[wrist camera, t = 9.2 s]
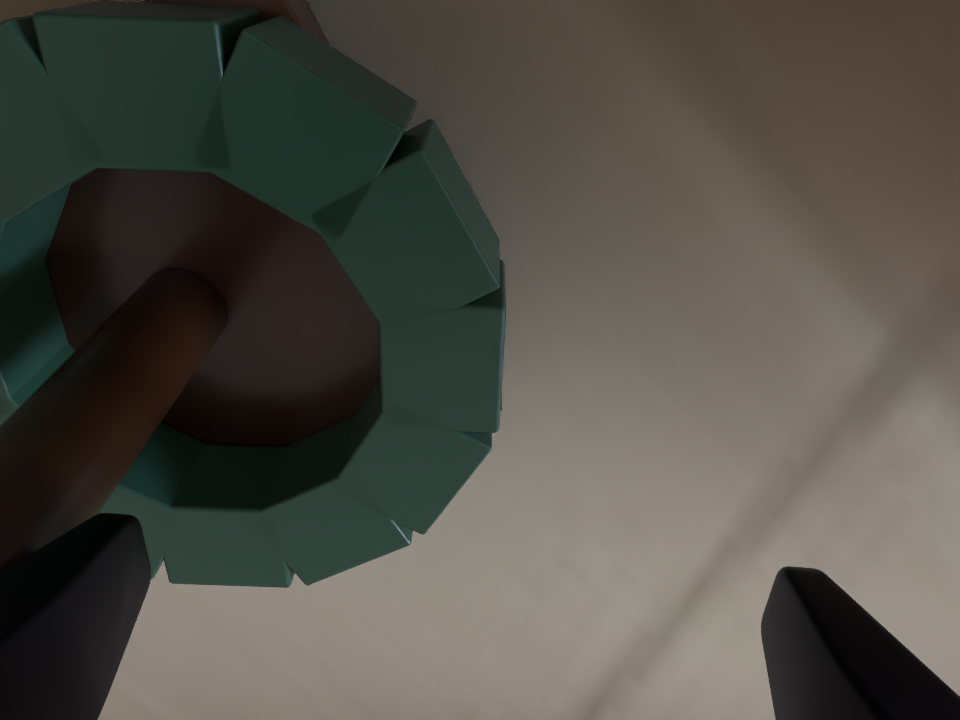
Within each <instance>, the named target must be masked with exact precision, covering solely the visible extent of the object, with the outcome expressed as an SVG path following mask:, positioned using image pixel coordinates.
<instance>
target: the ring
mask: <svg viewBox="0 0 960 720" xmlns="http://www.w3.org/2000/svg"><path fill="white" fill-rule="evenodd" d="M416 105H417V102H416V100H414V99H413V98H411V97H409V96H408V95H406V94H405V93H403V92H402V91H400V90H398V89H397V88H395V87H394V86H392V85H391V84H389V83H387V82H386V81H384V80H383V79H381V78H380V77H378V76H377V75H375V74H373V73H372V72H370V71H369V70H367V69H366V68H364V67H362V66H361V65H359V64H358V63H356V62H355V61H353V60H351V59H350V58H348V57H347V56H345V55H344V54H342V53H340V52H339V51H337V50H336V49H334V48H333V47H331V46H329V45H328V44H326V43H325V42H323V41H322V40H320V39H319V38H317V37H315V36H314V35H312V34H311V33H309V32H308V31H306V30H304V29H303V28H301V27H300V26H298V25H297V24H295V23H293V22H292V21H290V20H289V19H287V18H286V17H284V16H281V15H280V16H277V17H275V18H272V19H269V20H266V21H264V22H261V23H260V22H259V13H258V11H257V9H256V8H254V7H243V6H218V5H193V4H168V3H143V2H118V1H100V2H94V3H87V4H81V5H75V6H69V7H63V8H57V9H51V10H45V11H39V12H36V13H34V14H33V15H31V16H25V17H19V18H13V19H7V20H4V21H2V22H1V23H0V425H1V424H2V423H3V422H4V421H5V420H6V419H7V418H8V417H9V416H10V415H11V414H12V413H14V412H15V411H16V410H17V409H18V408H19V407H20V406H21V405H22V404H23V403H24V402H25V401H26V400H27V399H28V398H29V397H30V396H31V395H32V394H33V393H34V392H35V391H36V390H37V389H38V388H39V387H40V386H41V385H42V384H43V383H44V382H45V381H46V380H47V379H48V378H49V377H50V376H51V375H52V374H53V373H54V372H55V371H56V370H57V369H58V368H59V367H60V366H61V365H62V364H63V363H64V362H65V361H66V360H67V359H68V358H69V357H70V356H71V355H72V354H73V353H74V352H75V350H74V348H73V347H72V346H71V345H70V344H69V343H68V341H67V338H66V334H65V330H64V327H63V323H62V320H61V316H60V312H59V309H58V305H57V302H56V298H55V294H54V291H53V287H52V283H51V280H50V276H49V273H48V269H47V265H46V262H45V258H46V256H47V253H48V250H49V247H50V244H51V241H52V239H53V236H54V233H55V230H56V227H57V224H58V221H59V219H60V216H61V213H62V210H63V207H64V204H65V202H66V199H67V196H68V193H69V190H70V187H71V184H73V183H74V182H76V181H77V180H79V179H81V178H82V177H84V176H86V175H87V174H89V173H90V172H92V171H94V170H95V169H97V168H107V169H133V170H159V171H184V172H210V173H212V174H214V175H216V176H217V177H219V178H221V179H223V180H225V181H226V182H228V183H230V184H232V185H233V186H235V187H237V188H239V189H241V190H242V191H244V192H246V193H248V194H249V195H251V196H253V197H255V198H257V199H258V200H260V201H262V202H264V203H265V204H267V205H269V206H271V207H272V208H274V209H276V210H278V211H280V212H281V213H283V214H285V215H287V216H288V217H290V218H292V219H294V220H296V221H297V222H299V223H301V224H303V225H304V226H306V227H308V228H310V229H312V230H313V231H315V232H317V233H319V235H320V236H321V238H322V239H323V241H324V242H325V244H326V245H327V247H328V248H329V250H330V251H331V253H332V254H333V256H334V257H335V259H336V260H337V262H338V263H339V265H340V266H341V268H342V269H343V271H344V272H345V273H346V275H347V276H348V278H349V279H350V281H351V282H352V284H353V285H354V287H355V288H356V290H357V291H358V293H359V294H360V296H361V297H362V299H363V300H364V302H365V303H366V305H367V306H368V308H369V309H370V311H371V312H372V314H373V315H374V317H375V318H376V320H377V321H378V335H379V362H380V378H379V379H378V381H377V382H376V384H375V385H374V387H373V388H372V390H371V391H370V393H369V394H368V396H367V397H366V399H365V401H364V402H363V404H362V405H361V407H360V408H359V410H358V411H357V413H356V414H355V416H353V417H351V418H349V419H347V420H344V421H342V422H340V423H338V424H336V425H333V426H331V427H329V428H327V429H325V430H322V431H320V432H318V433H316V434H314V435H311V436H309V437H307V438H305V439H303V440H300V441H298V442H296V443H294V444H292V445H289V446H287V447H265V446H238V445H211V444H205V443H203V442H200V441H198V440H196V439H194V438H192V437H190V436H187V435H185V434H183V433H181V432H179V431H177V430H175V429H172V428H170V427H168V426H166V425H164V424H162V423H160V424H159V426H158V427H157V429H156V430H155V432H154V433H153V434H152V436H151V437H150V439H149V440H148V442H147V443H146V445H145V446H144V448H143V449H142V451H141V452H140V454H139V455H138V456H137V458H136V459H135V461H134V462H133V464H132V465H131V467H130V468H129V470H128V471H127V473H126V474H125V476H124V477H123V479H122V480H121V481H120V483H119V484H118V486H117V487H116V489H115V490H114V492H113V493H112V495H111V496H110V498H109V499H108V501H107V502H106V503H105V505H104V506H103V508H102V509H101V511H100V512H99V514H100V513H115V514H128V515H132V516H135V517H136V518H137V519H138V520H139V521H140V524H141V527H142V531H143V535H144V540H145V544H146V548H147V552H148V556H149V560H150V564H151V579H152V578H154V576H155V574H156V573H157V571H158V569H159V567H160V566H161V564H162V562H163V560H164V562H165V566H166V570H167V574H168V578H169V582H170V583H173V584H199V585H227V586H256V587H284V588H287V587H289V586H290V585H291V583H292V580H293V576H294V573H296V574H297V576H298V577H299V578H300V579H301V580H302V581H303V582H304V583H305V584H306V585H310V584H312V583H315V582H317V581H320V580H323V579H325V578H328V577H330V576H333V575H335V574H338V573H340V572H343V571H345V570H348V569H350V568H353V567H355V566H358V565H361V564H363V563H366V562H368V561H371V560H373V559H376V558H378V557H381V556H383V555H386V554H388V553H391V552H393V551H396V550H398V549H401V548H404V547H406V546H409V545H410V544H411V539H412V531H413V530H414V531H416V532H418V533H420V534H425V533H426V532H427V530H428V529H429V528H430V527H431V525H432V524H433V523H434V521H435V520H436V519H437V518H438V516H439V515H440V514H441V513H442V511H443V510H444V509H445V508H446V506H447V505H448V504H449V502H450V501H451V500H452V499H453V497H454V496H455V495H456V494H457V492H458V491H459V490H460V489H461V487H462V486H463V485H464V483H465V482H466V481H467V480H468V478H469V477H470V476H471V475H472V473H473V472H474V471H475V470H476V468H477V467H478V466H479V464H480V463H481V462H482V461H483V459H484V458H485V457H486V456H487V454H488V453H489V452H490V451H491V448H492V433H495V432H497V431H498V429H499V422H500V405H501V388H502V371H503V354H504V337H505V320H506V294H505V269H504V262H503V261H502V260H500V255H499V239H498V237H497V235H496V233H495V232H494V230H493V228H492V226H491V224H490V222H489V221H488V219H487V217H486V215H485V213H484V211H483V210H482V208H481V206H480V204H479V202H478V200H477V199H476V197H475V195H474V193H473V191H472V189H471V188H470V186H469V184H468V182H467V180H466V178H465V177H464V175H463V173H462V171H461V169H460V167H459V166H458V164H457V162H456V160H455V158H454V156H453V155H452V153H451V151H450V149H449V147H448V145H447V144H446V142H445V140H444V138H443V136H442V134H441V133H440V131H439V129H438V127H437V125H436V123H435V122H434V121H433V120H432V119H430V120H427V121H425V122H423V123H422V124H420V125H418V126H416V127H414V128H413V129H411V130H409V131H407V132H405V130H406V127H407V125H408V123H409V121H410V118H411V116H412V114H413V112H414V109H415V107H416ZM404 132H405V133H404Z"/></svg>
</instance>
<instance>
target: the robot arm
mask: <svg viewBox="0 0 960 720" xmlns="http://www.w3.org/2000/svg"><path fill="white" fill-rule="evenodd" d="M150 580H151V564H150V560H149V556H148V552H147V548H146V544H145V540H144V535H143V531H142V527H141V524H140V521H139V520H138V519H137V518H136V517H135V516H132V515H128V514H115V513H100V514H97V515H95V516H93V517H91V518H89V519H87V520H86V521H84V522H83V523H81V524H79V525H78V526H76V527H74V528H73V529H71V530H69V531H68V532H66V533H64V534H63V535H61V536H59V537H58V538H56V539H54V540H53V541H51V542H50V543H48V544H46V545H45V546H43V547H41V548H40V549H38V550H36V551H35V552H33V553H31V554H30V555H28V556H26V557H25V558H23V559H21V560H20V561H18V562H17V563H15V564H13V565H12V566H10V567H8V568H7V569H5V570H3V571H2V572H0V720H97V719H98V717H99V715H100V713H101V710H102V708H103V706H104V703H105V701H106V698H107V696H108V693H109V691H110V688H111V686H112V683H113V680H114V678H115V675H116V672H117V670H118V667H119V664H120V662H121V659H122V657H123V654H124V651H125V649H126V646H127V643H128V641H129V638H130V635H131V633H132V630H133V628H134V625H135V622H136V620H137V617H138V614H139V612H140V609H141V607H142V604H143V601H144V599H145V596H146V593H147V591H148V588H149V584H150ZM761 636H762V643H763V648H764V654H765V660H766V666H767V672H768V677H769V683H770V689H771V695H772V701H773V706H774V712H775V718H776V720H960V696H958V695H957V694H956V693H955V692H954V691H953V690H952V689H951V688H950V687H949V686H948V685H946V684H945V683H944V682H943V681H942V680H941V679H940V678H939V677H938V676H937V675H935V674H934V673H933V672H932V671H931V670H930V669H929V668H928V667H927V666H926V665H925V664H923V663H922V662H921V661H920V660H919V659H918V658H917V657H916V656H915V655H914V654H913V653H911V652H910V651H909V650H908V649H907V648H906V647H905V646H904V645H903V644H902V643H901V642H899V641H898V640H897V639H896V638H895V637H894V636H893V635H892V634H891V633H890V632H888V631H887V630H886V629H885V628H884V627H883V626H882V625H881V624H880V623H879V622H878V621H876V620H875V619H874V618H873V617H872V616H871V615H870V614H869V613H868V612H867V611H866V610H864V609H863V608H862V607H861V606H860V605H859V604H858V603H857V602H856V601H855V600H854V599H852V598H851V597H850V596H849V595H848V594H847V593H846V592H845V591H844V590H843V589H842V588H840V587H839V586H838V585H837V584H836V583H835V582H834V581H833V580H832V579H831V578H829V577H828V576H827V575H826V574H825V573H823V572H822V571H820V570H818V569H814V568H802V567H789V566H788V567H783V568H782V569H780V570H779V572H778V573H777V575H776V578H775V581H774V584H773V587H772V590H771V593H770V596H769V598H768V601H767V604H766V607H765V610H764V613H763V617H762V623H761Z"/></svg>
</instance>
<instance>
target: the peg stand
mask: <svg viewBox="0 0 960 720" xmlns="http://www.w3.org/2000/svg"><path fill="white" fill-rule="evenodd" d="M143 3H168V4H193V5H218V6H243V7H254V8H256V9H257V11H258V13H259V22H260V23H261V22H264V21H266V20H269V19H272V18H275V17H277V16H280V15H281V16H284V17H286V18H287V19H289V20H290V21H292V22H293V23H295V24H297V25H298V26H300V27H301V28H303V29H304V30H306V31H308V32H309V33H311V34H312V35H314V36H315V37H317V38H319V39H320V40H322V41H323V42H325V43H326V44H328V45H329V43H328V41H327V39H326V37H325V35H324V33H323V31H322V29H321V27H320V25H319V24H318V22H317V20H316V18H315V16H314V14H313V12H312V10H311V8H310V6H309V4H308V2H307V0H146V1H144V2H143ZM329 46H330V45H329ZM45 262H46V265H47V269H48V273H49V276H50V280H51V283H52V287H53V291H54V294H55V298H56V302H57V305H58V309H59V312H60V316H61V320H62V323H63V327H64V330H65V334H66V338H67V341H68V343H69V344H70V345H71V346H72V347H73V348H74V350H75V352H74V353H73V354H72V355H71V356H70V357H69V358H68V359H67V360H66V361H65V362H64V363H63V364H62V365H61V366H60V367H59V368H58V369H57V370H56V371H55V372H54V373H53V374H52V375H51V376H50V377H49V378H48V379H47V380H46V381H45V382H44V383H43V384H42V385H41V386H40V387H39V388H38V389H37V390H36V391H35V392H34V393H33V394H32V395H31V396H30V397H29V398H28V399H27V400H26V401H25V402H24V403H23V404H22V405H21V406H20V407H19V408H18V409H17V410H16V411H15V412H14V413H12V414H11V415H10V416H9V417H8V418H7V419H6V420H5V421H4V422H3V423H2V424H1V425H0V572H2V571H3V570H5V569H7V568H8V567H10V566H12V565H13V564H15V563H17V562H18V561H20V560H21V559H23V558H25V557H26V556H28V555H30V554H31V553H33V552H35V551H36V550H38V549H40V548H41V547H43V546H45V545H46V544H48V543H50V542H51V541H53V540H54V539H56V538H58V537H59V536H61V535H63V534H64V533H66V532H68V531H69V530H71V529H73V528H74V527H76V526H78V525H79V524H81V523H83V522H84V521H86V520H87V519H89V518H91V517H93V516H95V515H97V514H99V512H100V511H101V509H102V508H103V506H104V505H105V503H106V502H107V501H108V499H109V498H110V496H111V495H112V493H113V492H114V490H115V489H116V487H117V486H118V484H119V483H120V481H121V480H122V479H123V477H124V476H125V474H126V473H127V471H128V470H129V468H130V467H131V465H132V464H133V462H134V461H135V459H136V458H137V456H138V455H139V454H140V452H141V451H142V449H143V448H144V446H145V445H146V443H147V442H148V440H149V439H150V437H151V436H152V434H153V433H154V432H155V430H156V429H157V427H158V426H159V424H160V423H162V424H164V425H166V426H168V427H170V428H172V429H175V430H177V431H179V432H181V433H183V434H185V435H187V436H190V437H192V438H194V439H196V440H198V441H200V442H203V443H205V444H211V445H238V446H265V447H287V446H289V445H292V444H294V443H296V442H298V441H300V440H303V439H305V438H307V437H309V436H311V435H314V434H316V433H318V432H320V431H322V430H325V429H327V428H329V427H331V426H333V425H336V424H338V423H340V422H342V421H344V420H347V419H349V418H351V417H353V416H355V414H356V413H357V411H358V410H359V408H360V407H361V405H362V404H363V402H364V401H365V399H366V397H367V396H368V394H369V393H370V391H371V390H372V388H373V387H374V385H375V384H376V382H377V381H378V379H379V378H380V362H379V335H378V321H377V320H376V318H375V317H374V315H373V314H372V312H371V311H370V309H369V308H368V306H367V305H366V303H365V302H364V300H363V299H362V297H361V296H360V294H359V293H358V291H357V290H356V288H355V287H354V285H353V284H352V282H351V281H350V279H349V278H348V276H347V275H346V273H345V272H344V271H343V269H342V268H341V266H340V265H339V263H338V262H337V260H336V259H335V257H334V256H333V254H332V253H331V251H330V250H329V248H328V247H327V245H326V244H325V242H324V241H323V239H322V238H321V236H320V235H319V233H317V232H315V231H313V230H312V229H310V228H308V227H306V226H304V225H303V224H301V223H299V222H297V221H296V220H294V219H292V218H290V217H288V216H287V215H285V214H283V213H281V212H280V211H278V210H276V209H274V208H272V207H271V206H269V205H267V204H265V203H264V202H262V201H260V200H258V199H257V198H255V197H253V196H251V195H249V194H248V193H246V192H244V191H242V190H241V189H239V188H237V187H235V186H233V185H232V184H230V183H228V182H226V181H225V180H223V179H221V178H219V177H217V176H216V175H214V174H212V173H210V172H184V171H159V170H133V169H107V168H97V169H95V170H94V171H92V172H90V173H89V174H87V175H86V176H84V177H82V178H81V179H79V180H77V181H76V182H74V183H73V184H71V187H70V190H69V193H68V196H67V199H66V202H65V204H64V207H63V210H62V213H61V216H60V219H59V221H58V224H57V227H56V230H55V233H54V236H53V239H52V241H51V244H50V247H49V250H48V253H47V256H46V258H45ZM501 410H502V390H501V405H500V411H501Z"/></svg>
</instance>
